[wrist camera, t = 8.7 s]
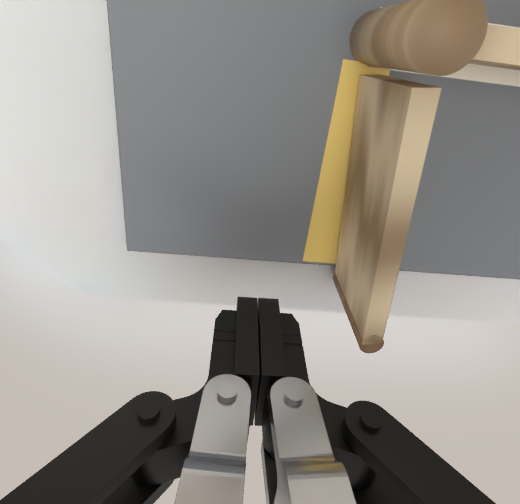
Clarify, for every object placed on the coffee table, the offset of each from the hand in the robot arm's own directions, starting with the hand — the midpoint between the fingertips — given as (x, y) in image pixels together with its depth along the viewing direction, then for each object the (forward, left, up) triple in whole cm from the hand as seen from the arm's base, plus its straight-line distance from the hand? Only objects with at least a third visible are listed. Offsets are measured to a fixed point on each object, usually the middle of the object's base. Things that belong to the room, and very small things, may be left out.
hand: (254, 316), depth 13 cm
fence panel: (-6, -2, -8) cm, 10 cm away
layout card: (-7, -6, -9) cm, 13 cm away
